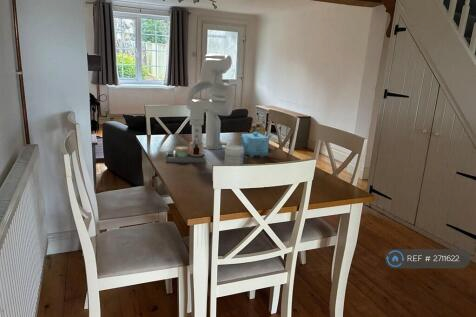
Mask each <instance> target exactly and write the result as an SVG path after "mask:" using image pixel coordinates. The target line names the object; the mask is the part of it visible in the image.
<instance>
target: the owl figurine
mask: <svg viewBox="0 0 476 317" xmlns="http://www.w3.org/2000/svg"><path fill="white" fill-rule="evenodd" d="M253 132H258V133H259V134H262V135H264V136H266V128H265V127H264V125H263V123H262V122H260V121H258V122H256V123H253V124H252V125H251V128H250V130H249V133H248V134H253Z"/></svg>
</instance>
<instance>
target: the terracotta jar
mask: <svg viewBox="0 0 476 317" xmlns="http://www.w3.org/2000/svg"><path fill="white" fill-rule="evenodd" d="M203 145H204V144H203V142H201V143H200V142H199V155H194V154H193V147H194V143H193V141H190V142H189V154H190V155H191V156H202V154H203Z"/></svg>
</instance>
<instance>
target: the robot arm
mask: <svg viewBox="0 0 476 317" xmlns="http://www.w3.org/2000/svg"><path fill="white" fill-rule="evenodd" d="M232 64H233V60H232V57H231V55H229V54H218V53H209V54H205V55H204V57H203V62H202V65H201V70H200V75H199V79H198V81H197V82H196V83H195V84H194V85H192V87H191V88H190V89H189V91H188V94H187V98H186V104H185V105H186V108H187V110H189V125H190V126H191V140H192V142H193V143H194V147H193V154H194V155H199V142H200V143H201V142H202V138H203V137H202V136H203V135H202V132H203V131H202V126H204V114H205V116H206V118H205V144H202V148H204V149H206V150H221V149H223V146H228V142H227V141H226V142H225V141H221V123H222V122H221V119H220V117H219V116H224V117H225V116H231V114H232V111H233V101H234V99H233V98H234V88H233V85H232V84H230V83H228V82H227V83H225V82H223V74H226V73H227V72H228V71H229V70H230V69H231V67H232ZM206 89H208V96H209V97H211V98H216V99H208V98H203V97H202V98H201V97H196V95H197V94H198V93H199V92H202V91H204V90H206ZM221 99H223V100H221ZM202 143H203V142H202Z"/></svg>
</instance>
